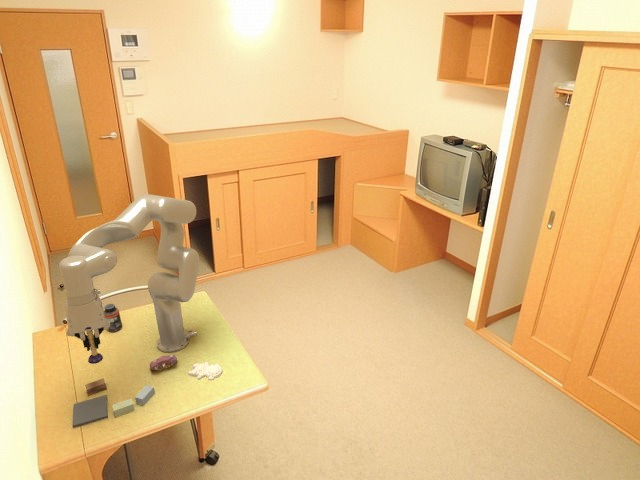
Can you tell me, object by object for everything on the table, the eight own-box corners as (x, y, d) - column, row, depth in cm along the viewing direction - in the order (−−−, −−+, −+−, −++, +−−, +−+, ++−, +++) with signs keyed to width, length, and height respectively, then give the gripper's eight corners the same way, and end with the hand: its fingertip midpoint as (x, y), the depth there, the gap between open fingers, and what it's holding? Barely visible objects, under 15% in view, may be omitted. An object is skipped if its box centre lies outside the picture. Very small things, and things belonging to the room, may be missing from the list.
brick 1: (105, 384, 157) (103, 378, 156) (107, 389, 155) (105, 383, 153) (86, 391, 154) (84, 384, 152) (88, 396, 151) (86, 390, 150)
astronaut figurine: (196, 362, 168) (196, 356, 167) (226, 367, 166) (225, 361, 164) (185, 378, 160) (184, 371, 159) (216, 383, 158) (215, 377, 157)
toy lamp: (86, 365, 137) (77, 319, 131) (86, 356, 141) (77, 312, 135) (103, 362, 139) (95, 316, 133) (103, 353, 143) (95, 309, 136)
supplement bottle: (112, 323, 189) (107, 301, 185) (125, 325, 189) (120, 302, 184) (104, 332, 184) (98, 309, 179) (117, 333, 183) (112, 310, 179)
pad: (106, 397, 151) (106, 394, 151) (107, 417, 143) (107, 415, 142) (74, 406, 147) (73, 403, 147) (73, 428, 139) (72, 425, 139)
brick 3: (147, 391, 154) (146, 384, 153) (155, 393, 153) (153, 386, 152) (136, 403, 149) (134, 397, 147) (143, 406, 148) (142, 399, 147)
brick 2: (133, 404, 148) (131, 398, 147) (134, 410, 146) (133, 403, 145) (113, 411, 145) (112, 405, 144) (115, 418, 143) (113, 411, 142)
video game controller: (151, 376, 163) (150, 367, 158) (148, 365, 165) (147, 356, 160) (178, 367, 167) (178, 359, 162) (175, 357, 170) (175, 348, 164)
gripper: (109, 285, 137) (119, 334, 145) (51, 296, 131) (64, 347, 138) (111, 296, 131) (121, 347, 138) (50, 308, 125) (63, 361, 132)
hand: (92, 346), depth 138 cm, fingers closed on toy lamp
